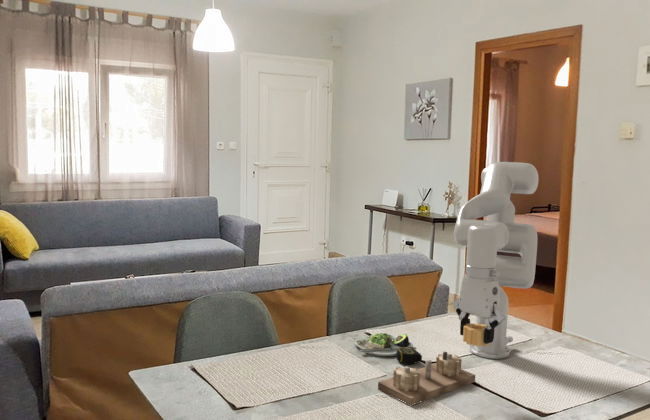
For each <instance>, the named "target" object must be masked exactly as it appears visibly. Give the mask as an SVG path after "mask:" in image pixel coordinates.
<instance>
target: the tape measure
mask: <svg viewBox="0 0 650 420" xmlns="http://www.w3.org/2000/svg"><path fill="white" fill-rule="evenodd" d="M395 356H396V357H395V358H396V360H397V361H398V362H399V363H402V364H404V365H405V364H406V365H413V364H417V363H421V362H422V359H423V356H422V354H421V353H420V352H418V351H417V350H416V349H413V348H412V347H408V348H407V347H401V348H399V349H398V350H397V352H396V355H395Z"/></svg>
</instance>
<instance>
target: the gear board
mask: <svg viewBox="0 0 650 420" xmlns="http://www.w3.org/2000/svg"><path fill="white" fill-rule="evenodd" d="M435 357H436V359H435V362H436V363H433V364H432V362H433V361H432V360H431V359H426V360H425V366H424V367H421V368H415V367H413V368H412V367H410V366H407V365H405V366H404V367H403V366H402V367H400V366H397V367H395V369H393V375H392V376H393V377H390V378H387V379H384V380H380V381H378V382H377V390H379V391H381V392H382V393H384V394H387V395H388V394H389V396H390V395H391V396H390V397H392V396H393V397H392V398H394V397H395V398H394V399H396V398H398V399H400V400H402V401H404V402H406V403H407V404H406V403H405V404H406V405H408V404H409V405H408V406H410V405H412V404H414V403H417V404H419V403H418V402H420V401H422V402H425V401H427V399H428V400H430V399H432V398H436V397H438V396H440V395H443V394H446V393H449V392H451V391H455V390H457V389H459V388H463V387H466V386H467V385H471V384H473V383H475V382H476V374H474V373H472V372H470V371H467V370H465V369H463V368H462V361H463V360H462V358H461V357H459V355H458V354H452V353H448V352H447V351H442V353H439V354H438V356H435ZM474 381H475V382H474ZM398 399H397V400H398ZM400 400H399V401H400ZM424 400H425V401H424ZM402 401H401V402H402ZM404 402H403V403H404ZM420 403H421V402H420ZM414 405H415V404H414ZM412 406H413V405H412Z"/></svg>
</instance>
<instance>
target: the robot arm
mask: <svg viewBox="0 0 650 420" xmlns="http://www.w3.org/2000/svg"><path fill="white" fill-rule="evenodd" d="M480 180H481V181H480V182H481V189H480V193H479V194H477V195H475V196H474V197H473V198H471V199H470V200H468V201H467V202H466V203H465V204H463V205H462V206H461V208H460V209H459V211H458V215H457V218H456V222H455V225H454V229H453V238H454V241H455V243H456V244H457V245H459V246H461V247H466V257H465V258H466V261H465V274H464V275H463V277H462V281H461V285H460V290H459V291H460V292H459V297H458V298H457V299H455V300H454V301H452V305H453V307H454V309H455V311H456V315H458V320H459V321H460V326H459V327H460V328H459V329H460V331H459V334H460V336H463V330H464V326H466V324H468V323H469V324H471V319H470V316H471V315H472V316H475V317H476V318H475V323H478V324H482V325H483V324H485V325H486V327H487V328H485V330H484V343H485V344H488V343H489V345H488V346H485V345H484V346H480V347H479V346H476V345H469V351H470V352H471V353H472V354H474V355H475V356H478V357H481V358H486V359H495V360H498V359H505V358H508V357H510V355H511V349H510V348H509V347H508V346H507V345H508V344H509V343H513V341H514V338H513V336H511V335H509V336H507V330H508V315H509V314H508V313H509V298H508V295H507V294H506V292H505V290H504V289H503V287H504V288H506V287H507V288H514V289H523V290H524V289H530V288H531V287H533V285H534V281H535V278H536V277H535V275H536V268H537V267H536V265H537V255H538V254H537V253H538V232H537V229H536V227H535V226H533V225H531V224H527V223H516V222H515V217H516V214H515V213H516V206H515V205H514V204H513V201H512V200H511V194H522V195H533V194H534V193H535V192H536V191H537V189H538V186H539V172H538V169H537V168H536V167H535V165H533V164H532V163H527V162H517V161H515V162H513V161H495V162H493V163H490V164H489V165H488V166H486V167H485V168H483V169H482V171H481V176H480ZM484 217H486V220H483V219H479V218H484ZM498 252H501V253H511V254H519V255H520V257H519V256H511V255H510V256H509V255H501V254H498Z"/></svg>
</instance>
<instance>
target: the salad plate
mask: <svg viewBox="0 0 650 420" xmlns="http://www.w3.org/2000/svg"><path fill="white" fill-rule="evenodd" d="M392 340H393V341H392ZM368 343H369V347H366V344H368ZM354 345H355V346H356V347H357V348H358V349H359V351H360V353H364V354H369V355H371V356H372V355H373V356H380V357H394V356H396V352H397V350H398V349H399V348H401V347H407V348H408V347H412V348H413V349H414V350H416V349H417V347H415V346H414V345H413V343H412V342H410V338H409V337H408V334H405V333H403V334H399V335H397V336H396V335H394V334H391V333H385V332H383V333H381V332H380V333H378V332H377V333H375V334H370V335H368V336H364V337H359V338H357V339H355V341H354Z"/></svg>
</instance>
